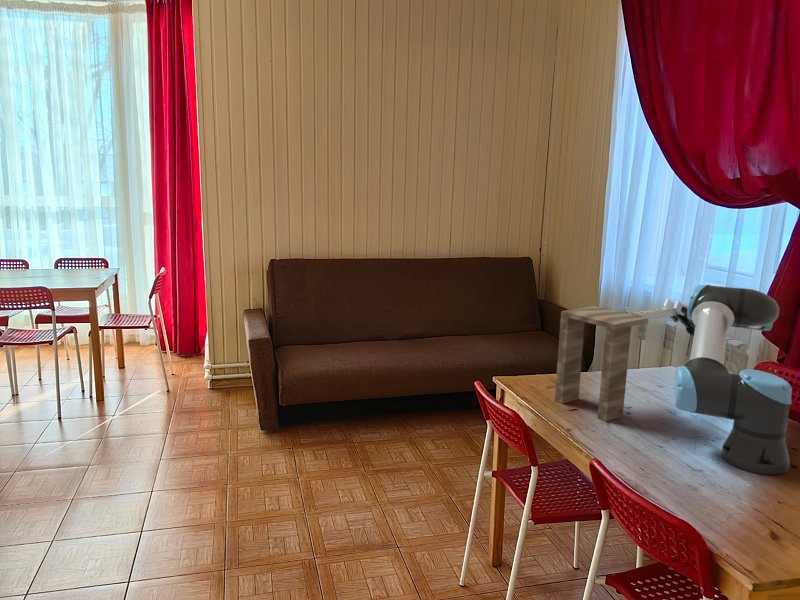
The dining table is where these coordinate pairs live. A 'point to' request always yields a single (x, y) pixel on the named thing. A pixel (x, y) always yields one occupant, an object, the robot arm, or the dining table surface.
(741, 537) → the dining table surface
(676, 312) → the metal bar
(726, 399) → the robot arm
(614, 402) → the striped wooden stand
